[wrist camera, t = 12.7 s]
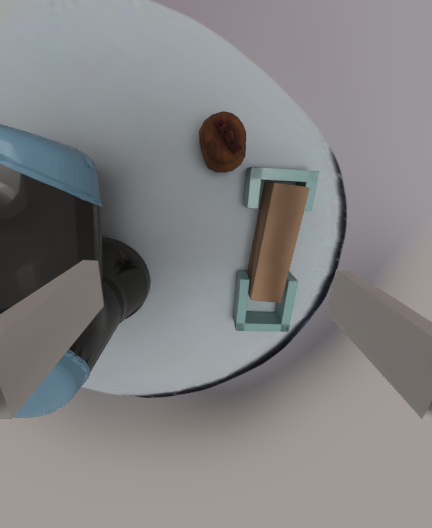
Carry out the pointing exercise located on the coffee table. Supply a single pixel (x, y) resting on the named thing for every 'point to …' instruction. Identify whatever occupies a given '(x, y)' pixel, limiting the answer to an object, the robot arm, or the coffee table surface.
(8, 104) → the coffee table surface
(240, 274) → the endcaps
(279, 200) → the slat
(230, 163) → the wooden figurine
